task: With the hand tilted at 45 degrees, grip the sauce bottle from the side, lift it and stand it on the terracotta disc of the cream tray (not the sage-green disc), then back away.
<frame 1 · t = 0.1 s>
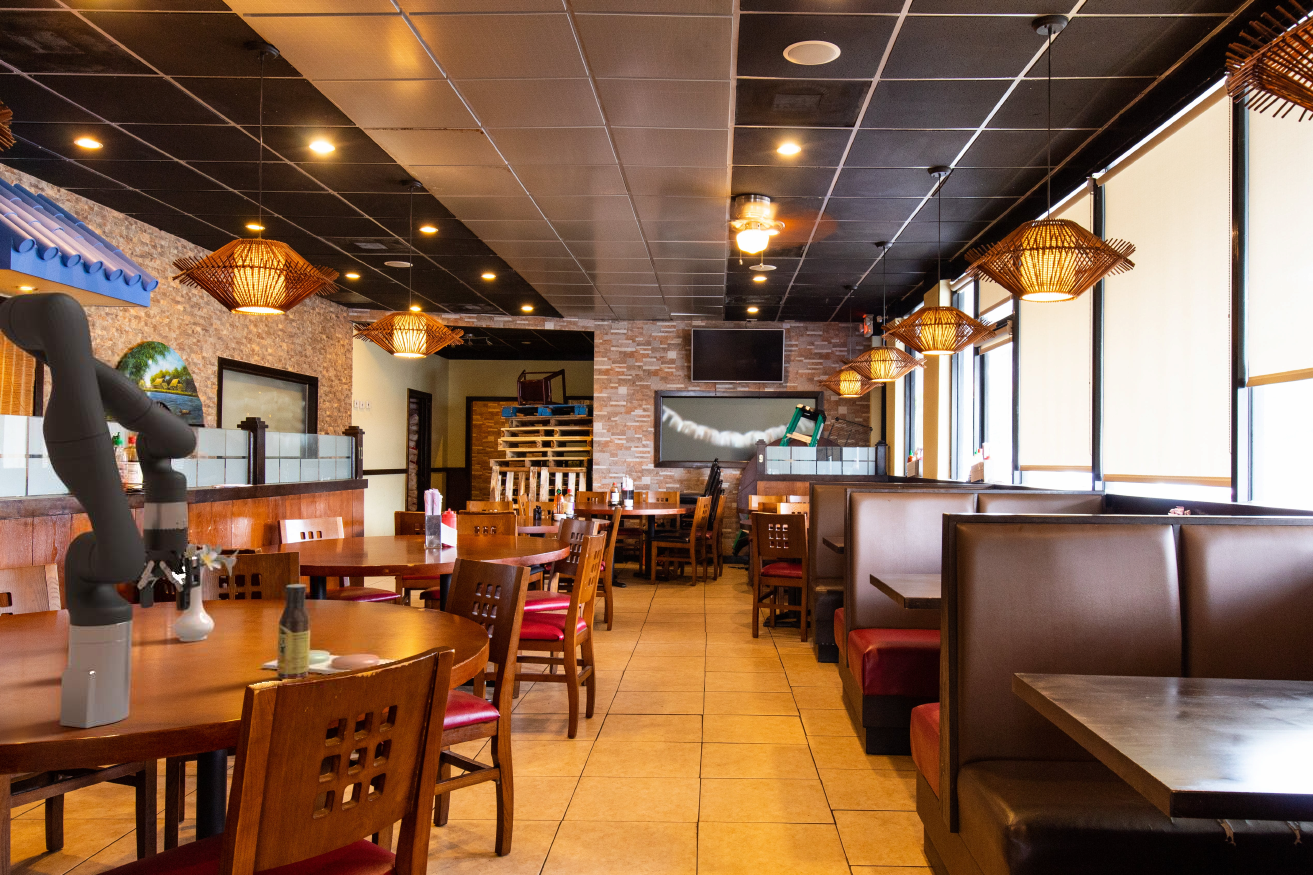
hand: (165, 608, 156), 17 cm above the table, tool pointing down, fingers open, 8 cm apart
flower vase: (195, 639, 210), on the table
tray: (330, 666, 183), on the table
sauce bottle: (292, 679, 172), on the table
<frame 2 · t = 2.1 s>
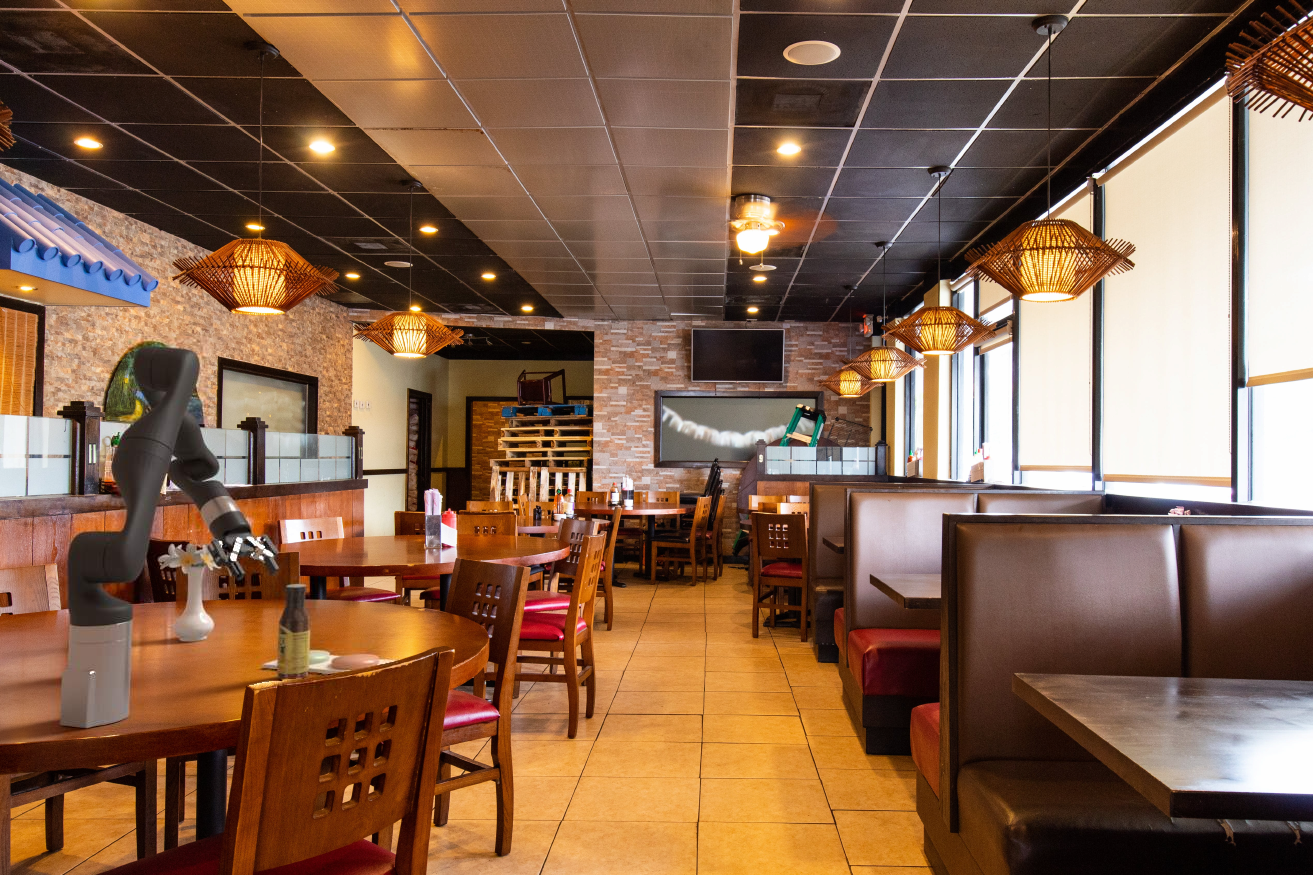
hand: (258, 575, 178), 21 cm above the table, tool tilted 45°, fingers open, 8 cm apart
nothing on the table moved.
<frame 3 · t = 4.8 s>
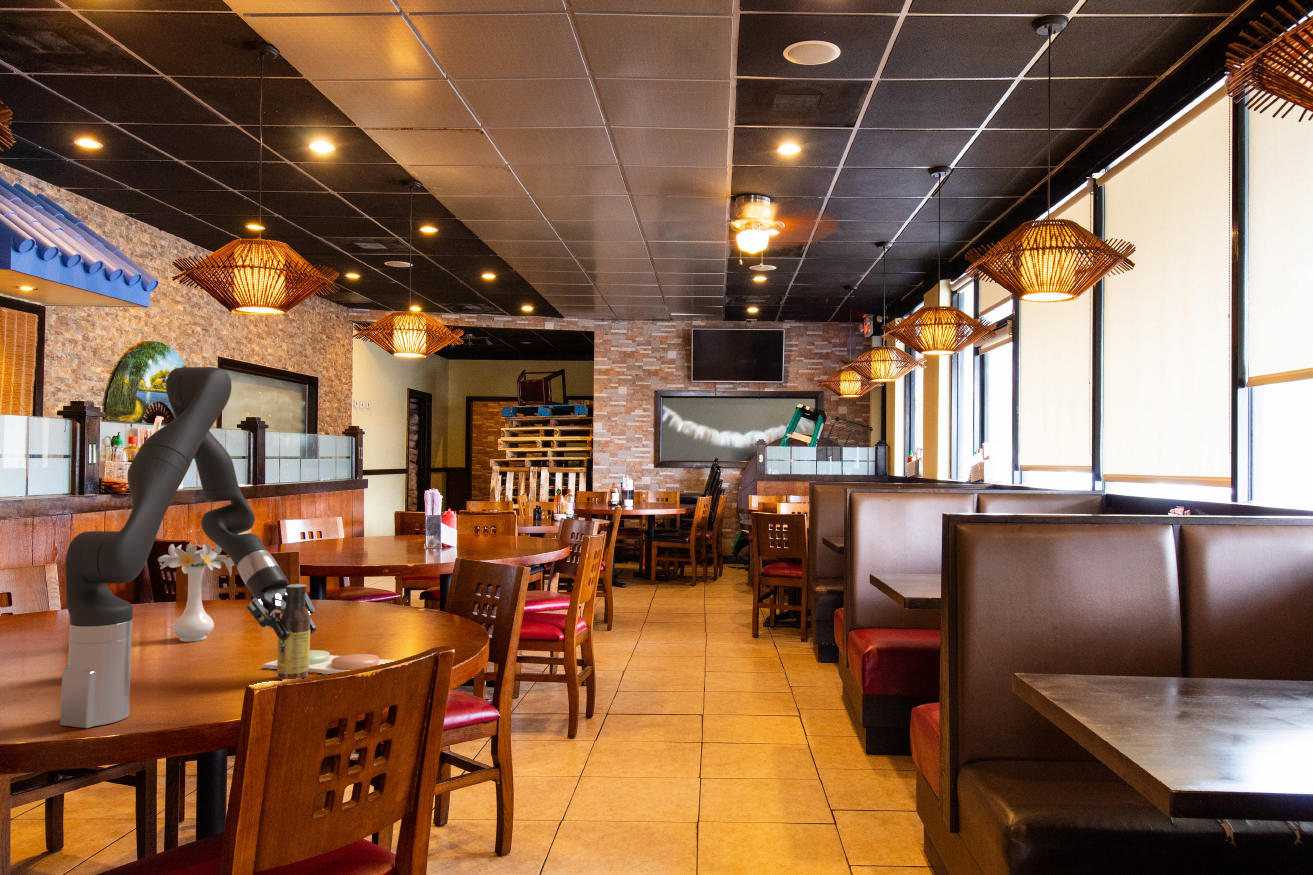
hand: (299, 634, 172), 9 cm above the table, tool tilted 45°, fingers closed on sauce bottle, 6 cm apart
sauce bottle: (292, 679, 172), on the table, touching gripper
everything else where it was.
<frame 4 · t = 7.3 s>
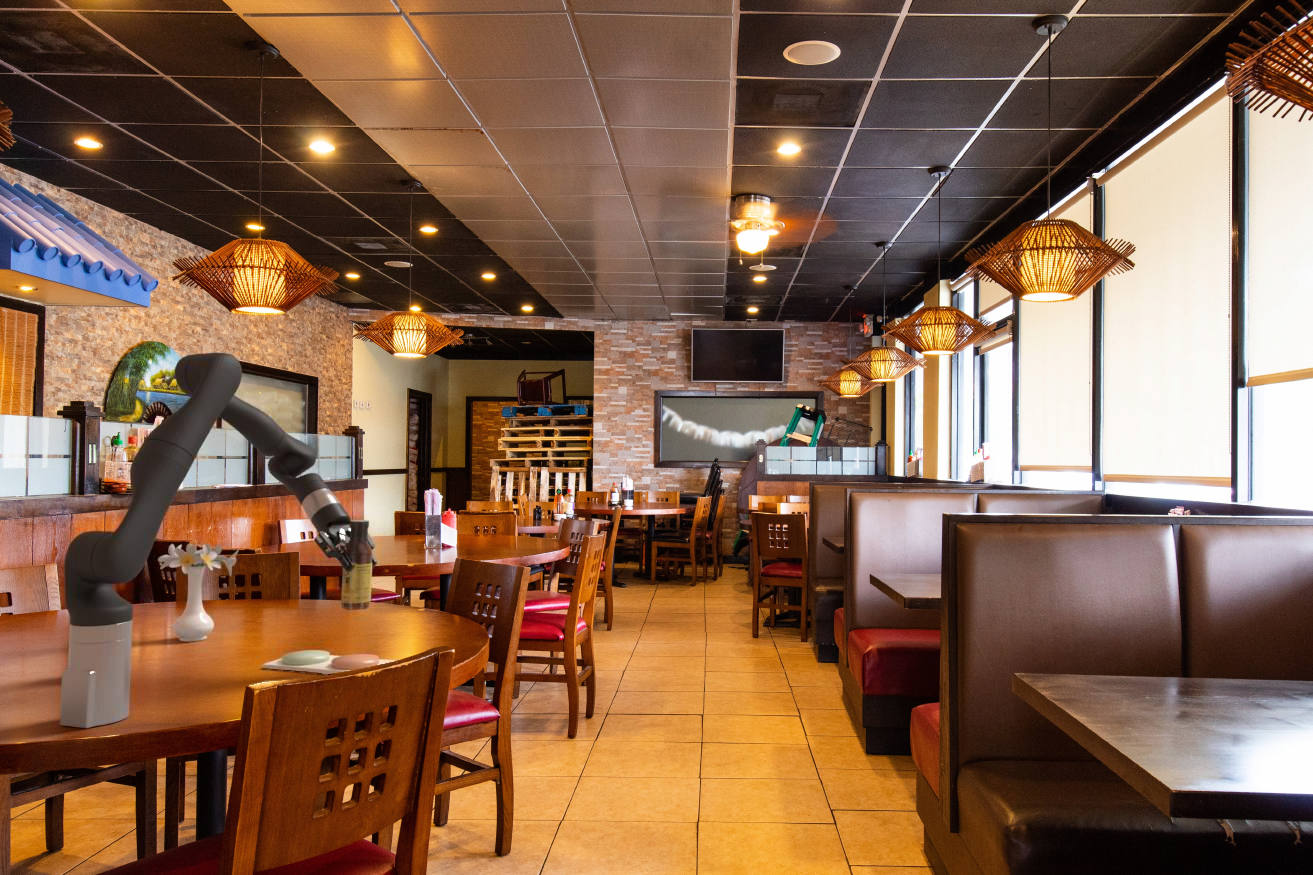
hand: (362, 567, 181), 23 cm above the table, tool tilted 45°, fingers closed on sauce bottle, 6 cm apart
sauce bottle: (355, 609, 182), point 13 cm above the table, touching gripper
everything else where it was.
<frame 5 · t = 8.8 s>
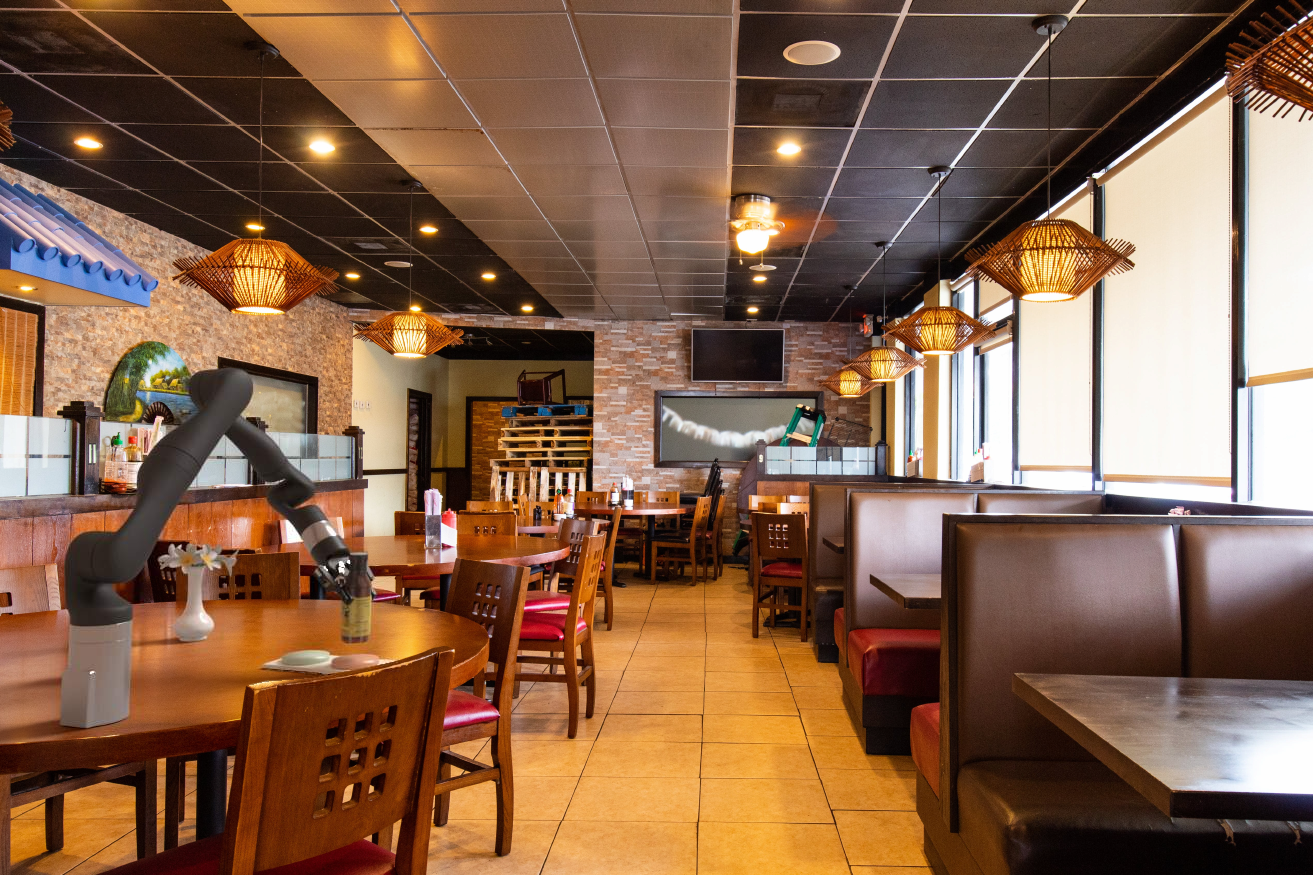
hand: (362, 600, 181), 15 cm above the table, tool tilted 45°, fingers closed on sauce bottle, 6 cm apart
sauce bottle: (355, 642, 181), point 6 cm above the table, touching gripper
everything else where it was.
when the fingers open (13 cm above the table, at t = 10.1 s): sauce bottle drops 1 cm, resting on tray.
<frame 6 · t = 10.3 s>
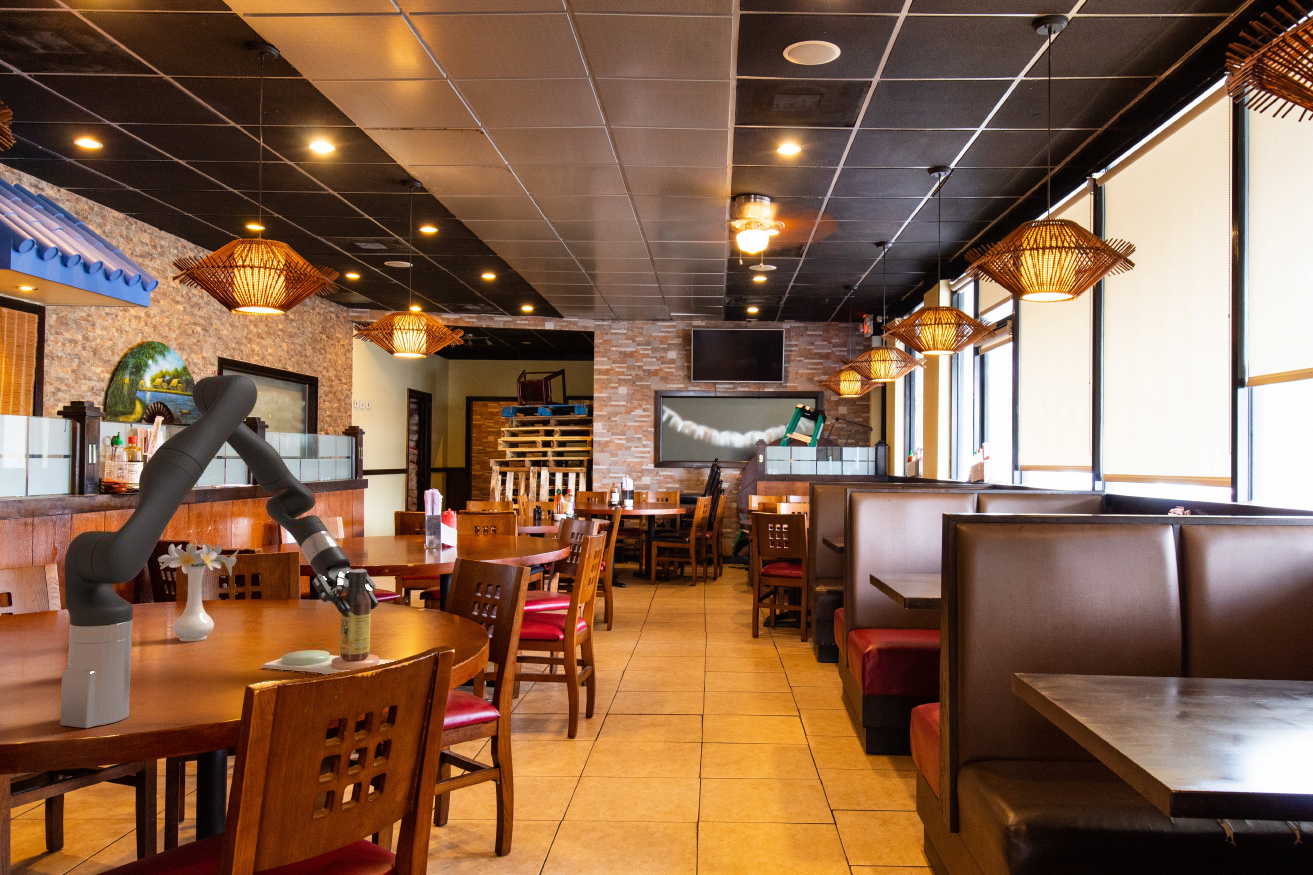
hand: (361, 609, 181), 13 cm above the table, tool tilted 45°, fingers open, 8 cm apart
sauce bottle: (354, 659, 181), point 2 cm above the table, touching tray
everything else where it was.
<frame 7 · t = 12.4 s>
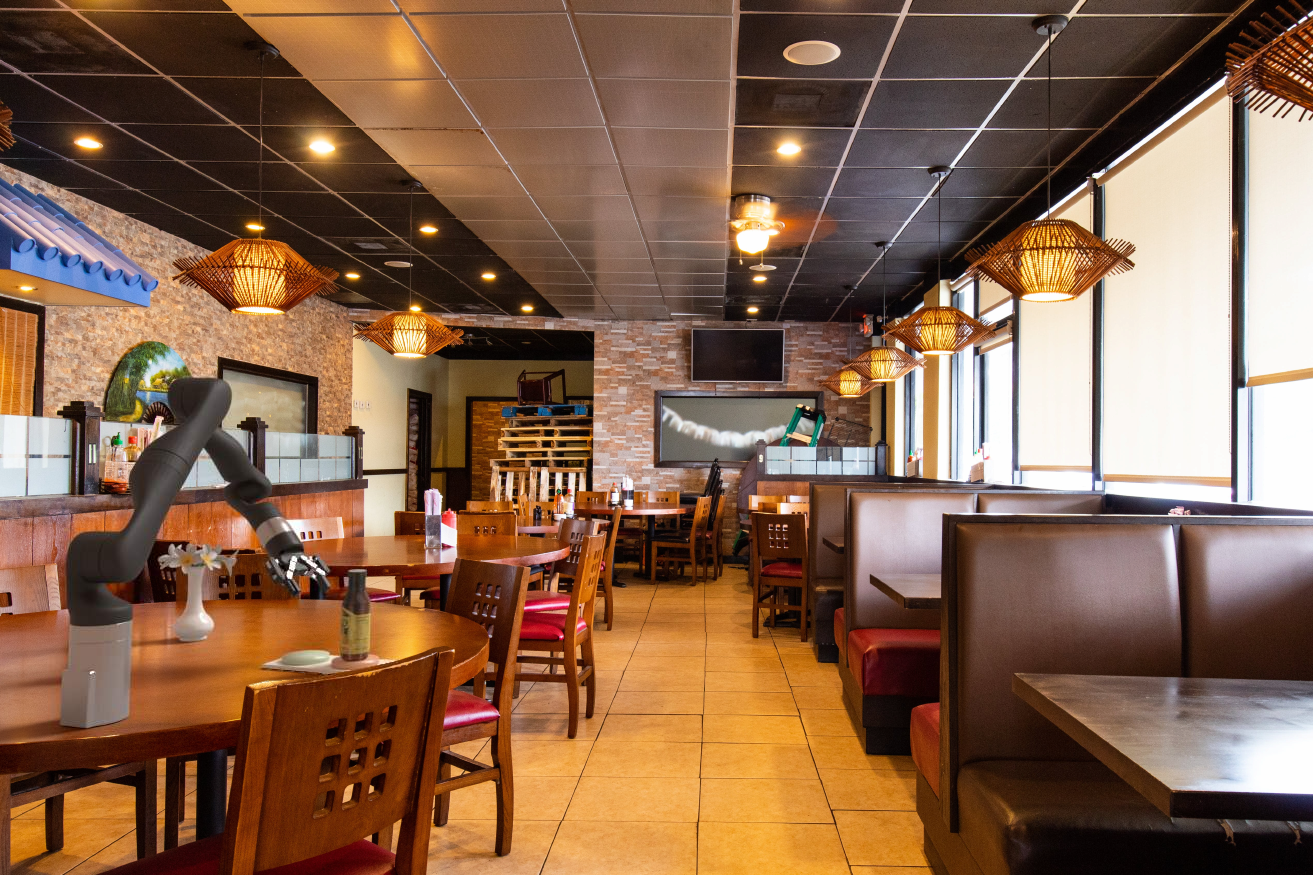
hand: (312, 592, 186), 16 cm above the table, tool tilted 45°, fingers open, 8 cm apart
nothing on the table moved.
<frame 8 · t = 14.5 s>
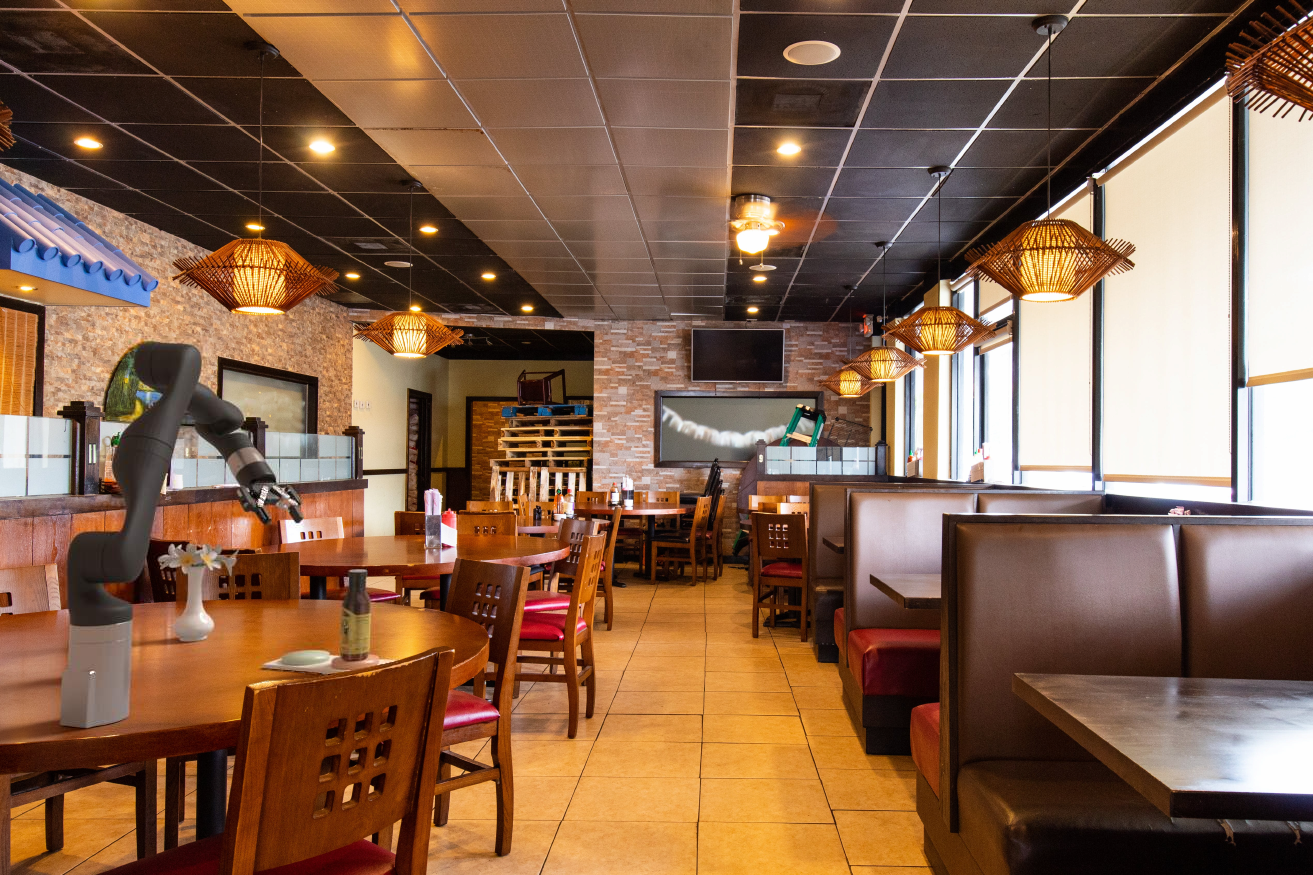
hand: (284, 521, 184), 33 cm above the table, tool tilted 45°, fingers open, 8 cm apart
nothing on the table moved.
at the end: sauce bottle inside the target area on the tray (0.2 cm from its centre), point 2.0 cm above the tray's base; sauce bottle tilted 0°; the gripper is holding nothing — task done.
